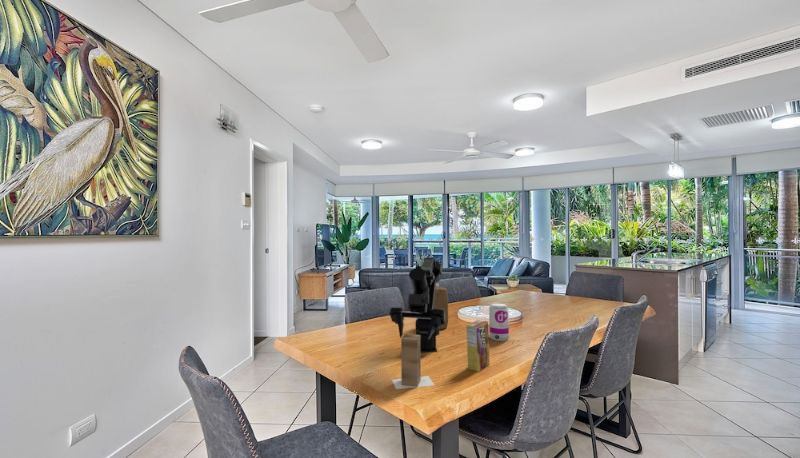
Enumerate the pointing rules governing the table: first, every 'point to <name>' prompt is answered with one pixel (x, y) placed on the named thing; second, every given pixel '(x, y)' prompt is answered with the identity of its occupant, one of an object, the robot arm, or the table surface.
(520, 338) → the table surface
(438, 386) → the table surface
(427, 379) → the tile
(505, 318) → the supplement can
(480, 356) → the candy box
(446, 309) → the block
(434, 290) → the robot arm
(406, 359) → the walnut block
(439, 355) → the table surface
